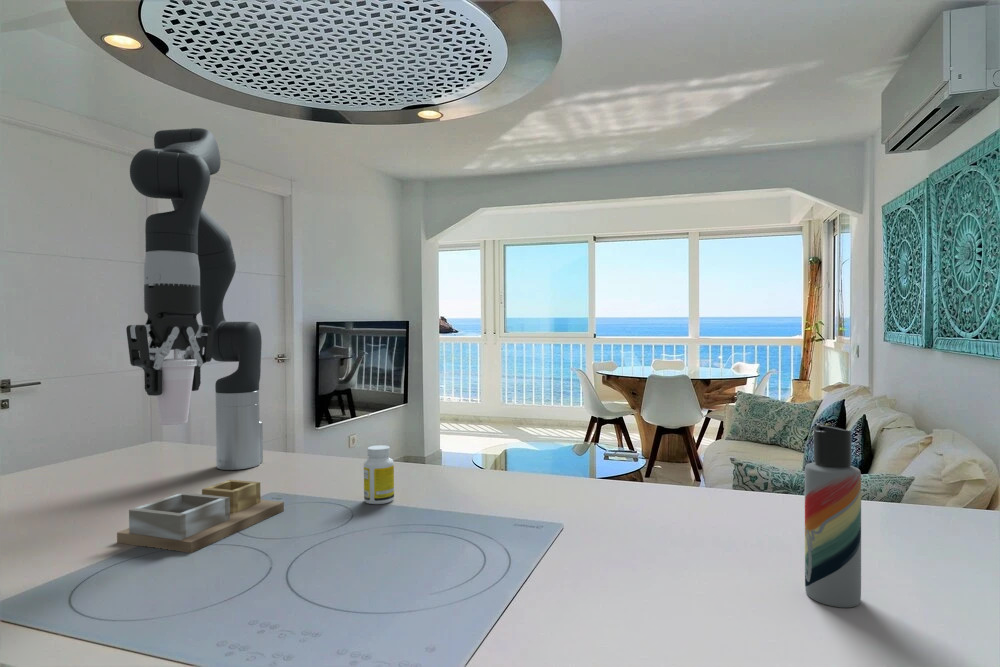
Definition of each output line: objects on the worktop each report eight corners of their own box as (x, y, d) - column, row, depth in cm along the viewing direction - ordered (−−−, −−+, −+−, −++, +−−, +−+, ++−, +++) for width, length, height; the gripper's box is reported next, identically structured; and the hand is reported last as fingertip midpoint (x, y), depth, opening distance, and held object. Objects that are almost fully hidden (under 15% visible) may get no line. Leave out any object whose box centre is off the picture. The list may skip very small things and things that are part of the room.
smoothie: (206, 420, 93) (205, 331, 93) (179, 426, 87) (179, 331, 87) (168, 419, 94) (167, 331, 94) (139, 426, 88) (138, 331, 88)
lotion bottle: (794, 587, 71) (794, 421, 71) (839, 585, 72) (839, 420, 72) (824, 609, 66) (824, 430, 65) (873, 607, 66) (873, 428, 66)
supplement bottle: (399, 497, 110) (399, 445, 110) (384, 506, 105) (384, 451, 105) (374, 495, 112) (373, 443, 112) (358, 503, 107) (357, 449, 107)
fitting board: (219, 503, 107) (218, 476, 107) (283, 510, 103) (283, 481, 103) (117, 542, 88) (116, 509, 88) (191, 552, 84) (190, 517, 84)
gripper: (191, 287, 98) (192, 388, 99) (110, 280, 85) (111, 397, 85) (227, 285, 96) (228, 389, 96) (149, 278, 82) (150, 398, 82)
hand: (173, 392), depth 90 cm, fingers closed on smoothie, 6 cm apart
